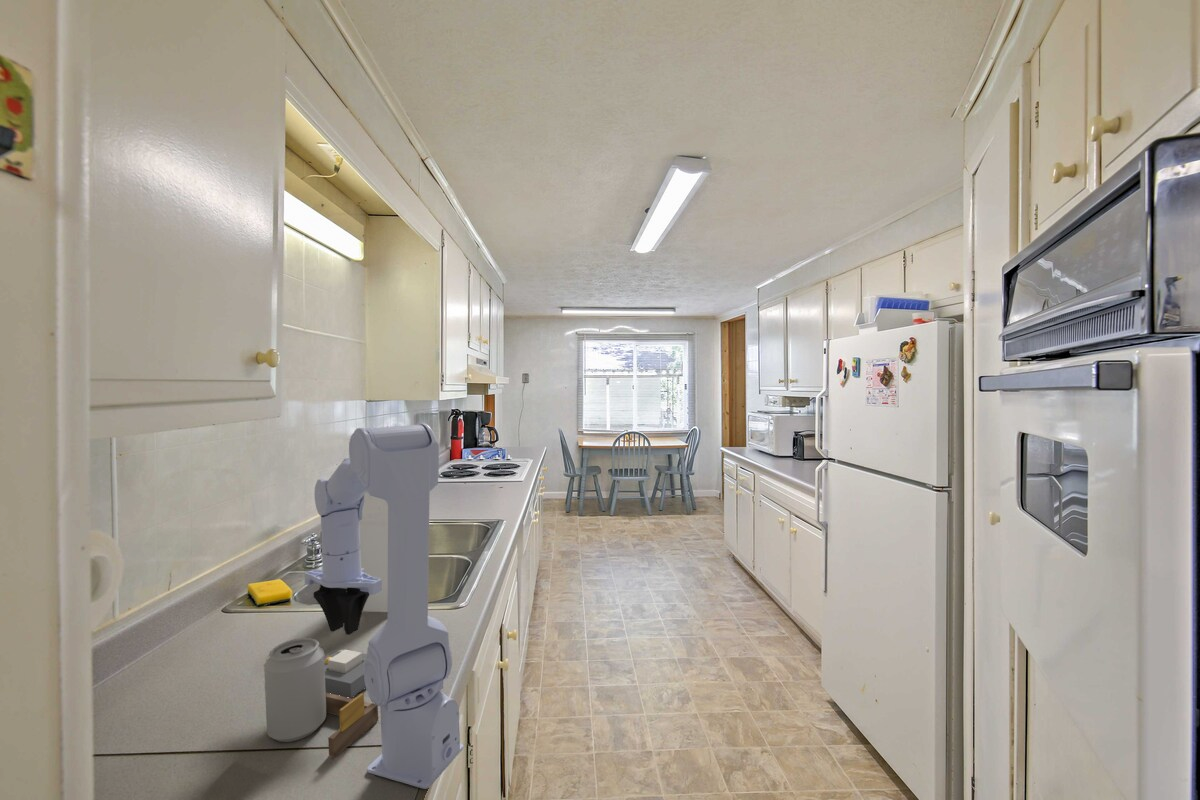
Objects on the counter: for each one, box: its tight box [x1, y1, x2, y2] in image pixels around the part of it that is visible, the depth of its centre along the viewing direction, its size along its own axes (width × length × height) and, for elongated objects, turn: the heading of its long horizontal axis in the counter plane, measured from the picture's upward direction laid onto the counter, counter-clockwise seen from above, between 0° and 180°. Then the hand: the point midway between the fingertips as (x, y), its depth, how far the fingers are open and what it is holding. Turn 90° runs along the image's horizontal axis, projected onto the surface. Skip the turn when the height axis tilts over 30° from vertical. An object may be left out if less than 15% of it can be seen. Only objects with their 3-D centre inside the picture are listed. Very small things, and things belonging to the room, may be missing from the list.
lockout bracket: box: [326, 692, 379, 758], centre depth 77 cm, size 10×8×6 cm
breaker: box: [328, 649, 363, 674], centre depth 90 cm, size 4×4×2 cm
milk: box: [359, 492, 388, 613], centre depth 122 cm, size 12×12×26 cm
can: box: [263, 637, 327, 743], centre depth 77 cm, size 8×8×12 cm
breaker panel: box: [324, 648, 367, 699], centre depth 90 cm, size 10×8×3 cm
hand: (344, 630), depth 90 cm, fingers open, 3 cm apart
